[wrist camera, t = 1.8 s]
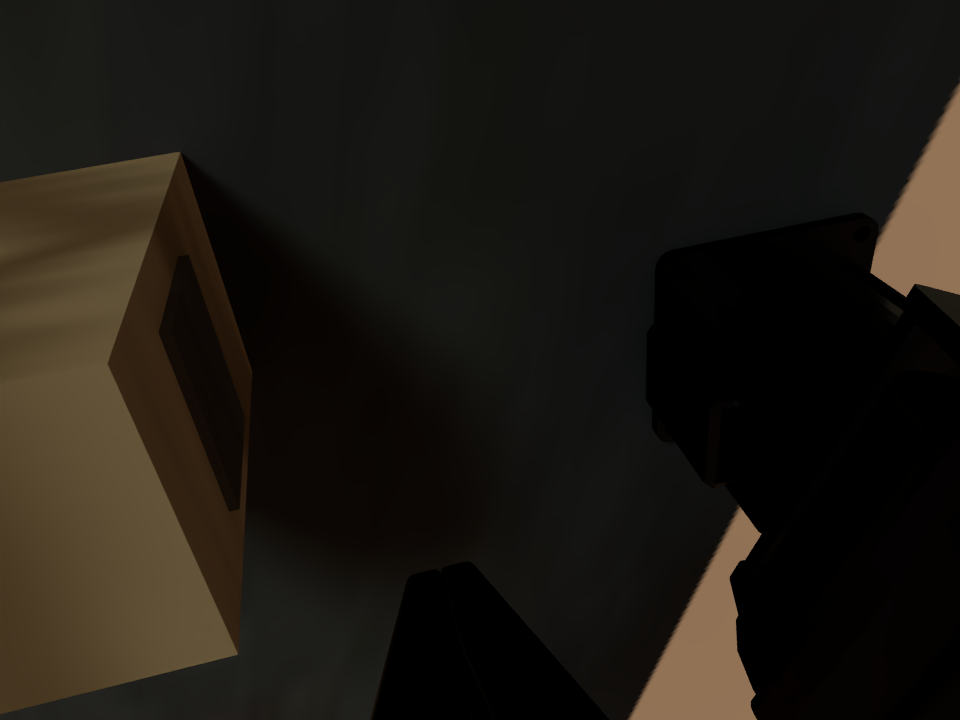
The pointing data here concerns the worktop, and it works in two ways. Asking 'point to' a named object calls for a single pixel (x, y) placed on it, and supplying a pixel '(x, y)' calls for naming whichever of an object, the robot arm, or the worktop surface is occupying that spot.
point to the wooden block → (116, 433)
